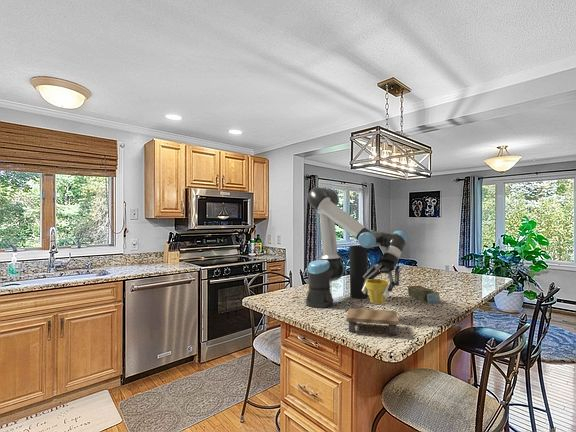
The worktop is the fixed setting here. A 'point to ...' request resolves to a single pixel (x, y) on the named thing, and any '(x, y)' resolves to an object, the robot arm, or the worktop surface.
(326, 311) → the worktop surface
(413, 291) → the beverage carton
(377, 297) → the plant pot
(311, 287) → the robot arm
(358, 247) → the vase
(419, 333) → the worktop surface
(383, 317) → the shelf stand
